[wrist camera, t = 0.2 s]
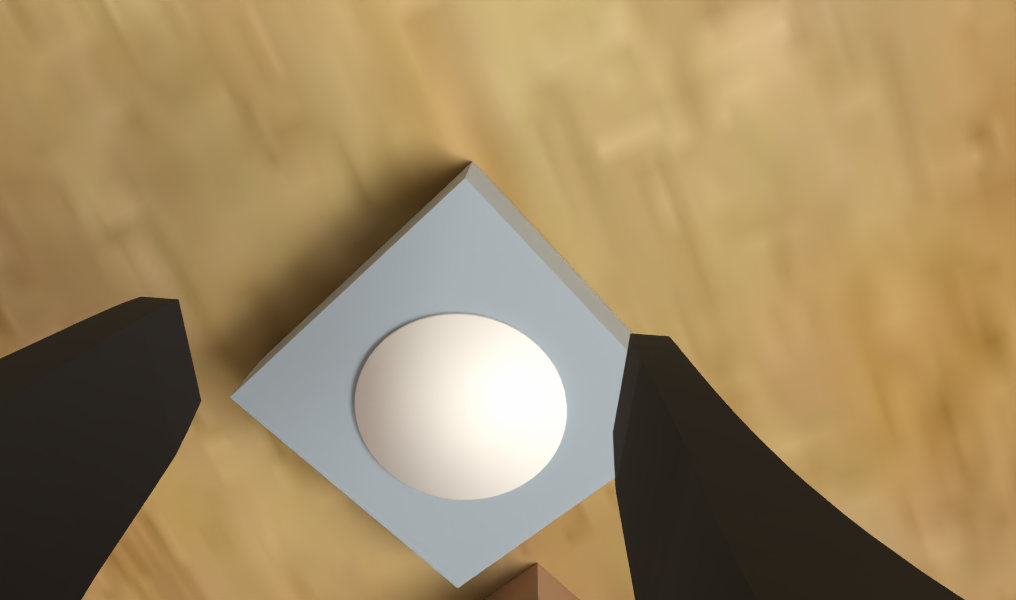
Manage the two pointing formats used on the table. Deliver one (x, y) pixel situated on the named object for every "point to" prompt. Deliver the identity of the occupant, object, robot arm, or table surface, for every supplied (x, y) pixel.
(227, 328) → the table surface
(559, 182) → the table surface
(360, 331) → the plinth
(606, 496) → the table surface
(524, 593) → the walnut block
